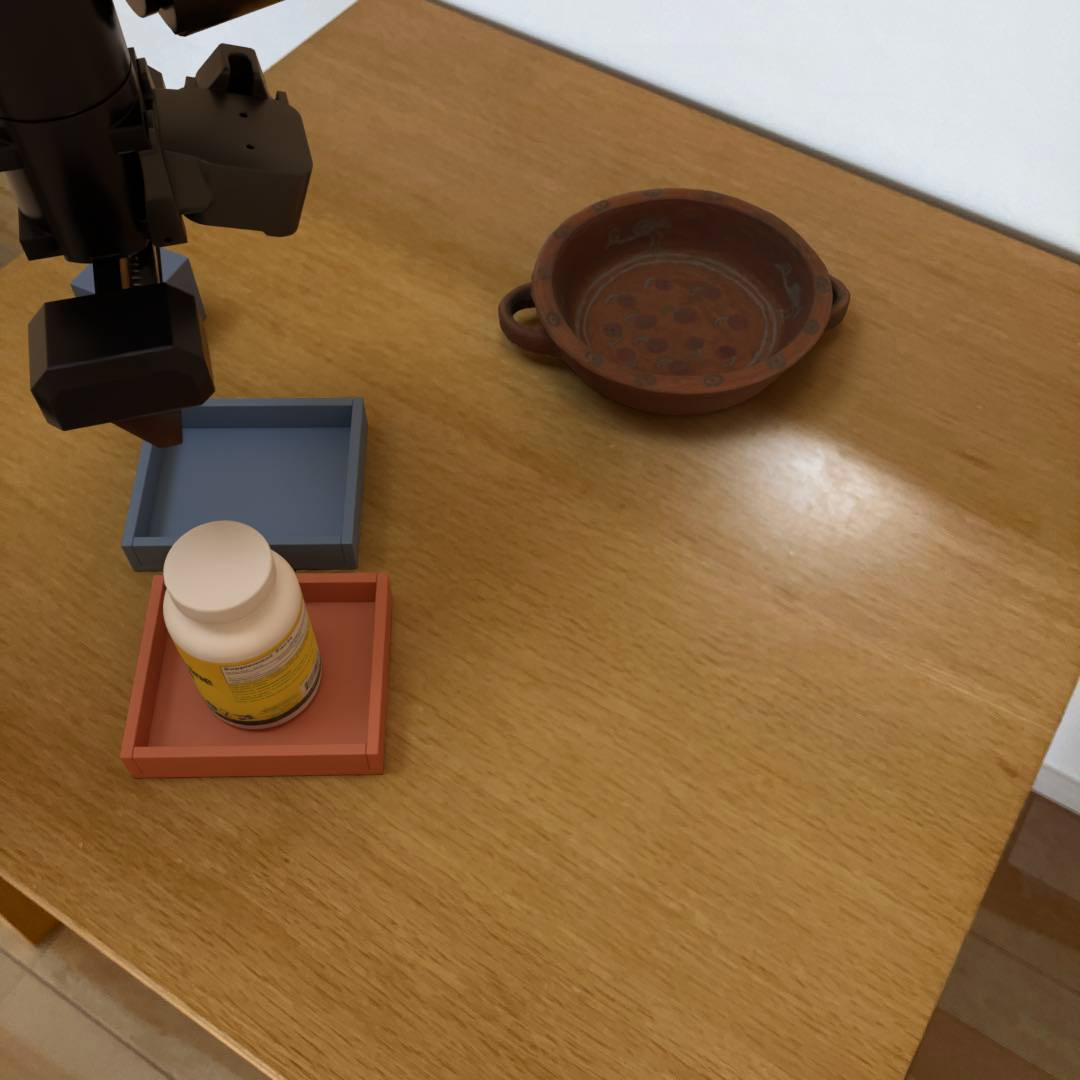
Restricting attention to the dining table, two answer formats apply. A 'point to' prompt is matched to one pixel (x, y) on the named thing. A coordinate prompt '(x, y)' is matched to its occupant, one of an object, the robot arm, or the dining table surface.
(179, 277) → the blue block
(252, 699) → the pill bottle
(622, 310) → the dish
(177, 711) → the terracotta tray
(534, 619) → the dining table surface
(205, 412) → the blue tray
